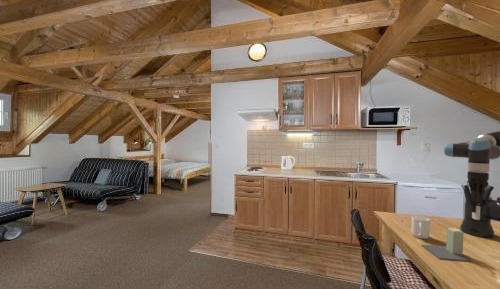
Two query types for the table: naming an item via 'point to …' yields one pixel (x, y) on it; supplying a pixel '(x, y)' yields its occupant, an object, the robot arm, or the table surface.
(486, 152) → the robot arm
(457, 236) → the block
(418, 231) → the mug
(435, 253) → the mat
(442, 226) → the table surface
